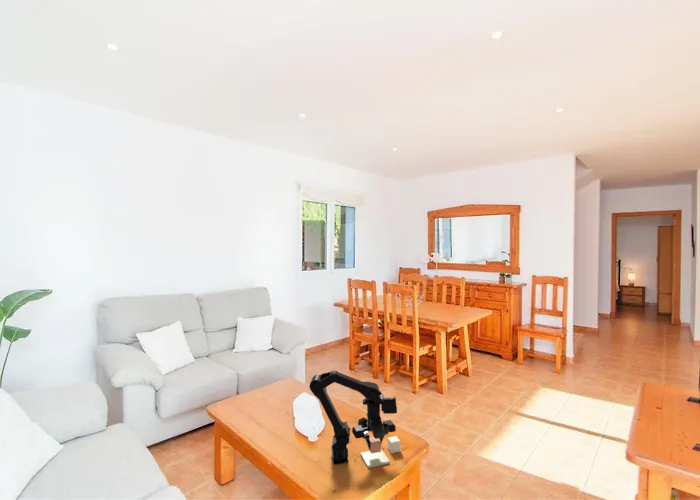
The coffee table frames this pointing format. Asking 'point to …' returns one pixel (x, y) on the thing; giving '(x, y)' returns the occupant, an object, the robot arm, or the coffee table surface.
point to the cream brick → (394, 444)
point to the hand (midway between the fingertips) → (374, 447)
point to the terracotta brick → (374, 445)
